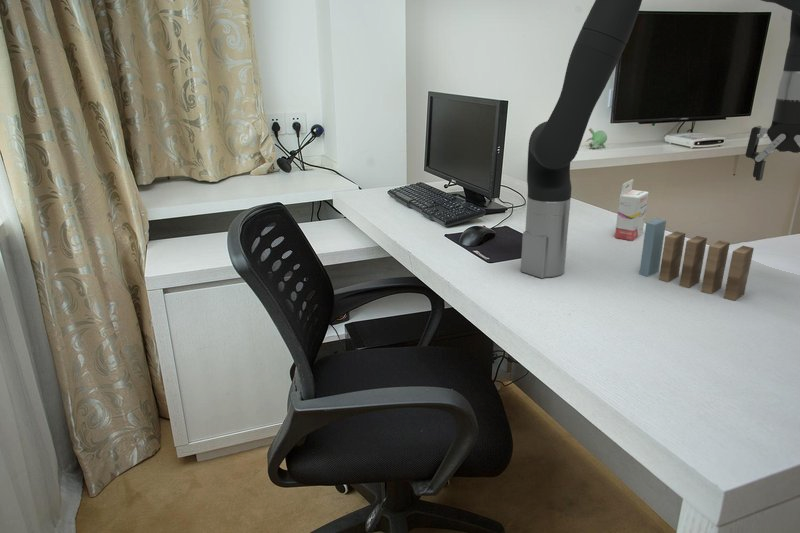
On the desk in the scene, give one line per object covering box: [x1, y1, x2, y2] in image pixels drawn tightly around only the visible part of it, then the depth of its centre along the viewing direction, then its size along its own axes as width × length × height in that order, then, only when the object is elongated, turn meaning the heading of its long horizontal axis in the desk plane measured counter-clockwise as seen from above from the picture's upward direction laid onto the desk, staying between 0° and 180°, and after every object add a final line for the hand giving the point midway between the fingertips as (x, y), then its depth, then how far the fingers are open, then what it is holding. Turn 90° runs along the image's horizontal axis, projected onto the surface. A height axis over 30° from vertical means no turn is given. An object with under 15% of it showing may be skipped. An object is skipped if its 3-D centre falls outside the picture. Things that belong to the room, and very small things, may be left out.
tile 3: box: [679, 235, 708, 289], centre depth 122 cm, size 5×2×10 cm, turn 131°
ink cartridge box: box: [614, 178, 650, 242], centre depth 153 cm, size 9×5×15 cm, turn 141°
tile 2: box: [700, 240, 731, 295], centre depth 119 cm, size 5×2×10 cm, turn 131°
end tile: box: [638, 218, 667, 277], centre depth 128 cm, size 5×2×12 cm, turn 131°
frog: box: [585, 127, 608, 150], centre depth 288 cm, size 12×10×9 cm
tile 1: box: [723, 245, 754, 302], centre depth 116 cm, size 5×2×10 cm, turn 131°
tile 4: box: [658, 230, 686, 283], centre depth 125 cm, size 5×2×10 cm, turn 131°
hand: (783, 182), depth 113 cm, fingers open, 8 cm apart
